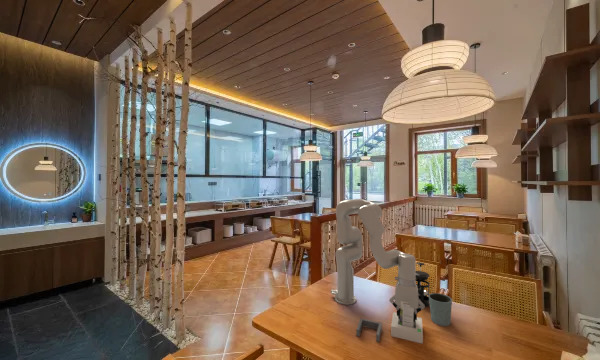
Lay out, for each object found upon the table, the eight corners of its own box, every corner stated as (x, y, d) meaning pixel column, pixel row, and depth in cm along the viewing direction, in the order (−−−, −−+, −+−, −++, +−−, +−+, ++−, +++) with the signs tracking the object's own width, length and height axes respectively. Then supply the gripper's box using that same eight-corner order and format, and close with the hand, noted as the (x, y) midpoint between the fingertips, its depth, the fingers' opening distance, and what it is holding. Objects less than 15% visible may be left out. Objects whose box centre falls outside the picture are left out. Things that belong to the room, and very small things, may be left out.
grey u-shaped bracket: (356, 335, 114) (356, 329, 113) (360, 324, 123) (360, 318, 123) (379, 341, 109) (379, 335, 109) (381, 329, 118) (381, 322, 118)
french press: (428, 299, 146) (428, 261, 146) (433, 308, 137) (433, 266, 137) (407, 297, 149) (407, 259, 149) (410, 305, 140) (410, 264, 140)
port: (391, 335, 113) (391, 324, 113) (393, 320, 125) (393, 310, 125) (422, 343, 108) (422, 332, 108) (421, 327, 120) (421, 316, 120)
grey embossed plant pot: (455, 328, 119) (455, 303, 119) (432, 325, 121) (432, 301, 121) (447, 316, 129) (447, 293, 129) (426, 314, 131) (426, 291, 131)
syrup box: (399, 324, 120) (399, 295, 120) (413, 327, 118) (413, 297, 118) (399, 331, 115) (400, 300, 115) (413, 334, 113) (414, 303, 113)
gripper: (386, 280, 117) (386, 318, 117) (427, 287, 109) (427, 328, 110) (388, 275, 123) (388, 311, 124) (426, 281, 116) (426, 319, 116)
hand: (406, 318), depth 117 cm, fingers closed on syrup box, 5 cm apart
